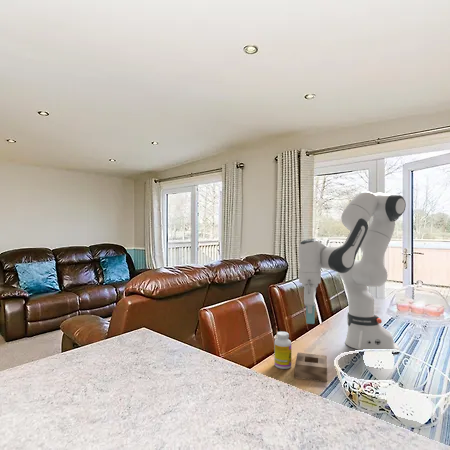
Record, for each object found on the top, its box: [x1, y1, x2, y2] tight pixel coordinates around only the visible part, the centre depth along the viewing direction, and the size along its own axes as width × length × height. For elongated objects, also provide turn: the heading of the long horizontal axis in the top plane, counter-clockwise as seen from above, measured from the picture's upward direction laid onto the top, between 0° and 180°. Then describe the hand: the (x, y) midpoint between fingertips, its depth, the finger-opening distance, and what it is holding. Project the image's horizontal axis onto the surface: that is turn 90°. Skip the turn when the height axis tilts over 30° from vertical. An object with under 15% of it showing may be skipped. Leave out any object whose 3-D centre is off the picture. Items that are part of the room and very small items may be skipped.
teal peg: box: [305, 293, 315, 325], centre depth 131 cm, size 3×3×12 cm
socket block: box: [294, 352, 328, 383], centre depth 118 cm, size 11×11×5 cm
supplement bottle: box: [273, 331, 292, 370], centre depth 124 cm, size 7×7×13 cm
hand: (310, 311), depth 131 cm, fingers closed on teal peg, 3 cm apart
